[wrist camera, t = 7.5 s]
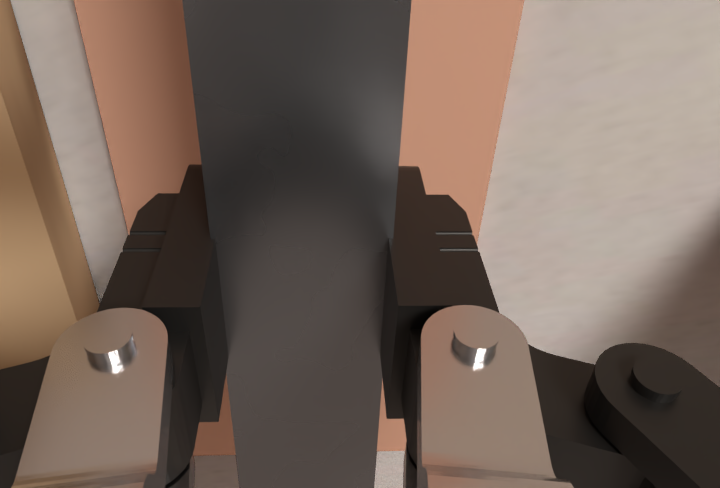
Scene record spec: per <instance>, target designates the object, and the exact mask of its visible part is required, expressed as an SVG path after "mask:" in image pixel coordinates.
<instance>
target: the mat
mask: <svg viewBox="0 0 720 488" xmlns="http://www.w3.org/2000/svg"><path fill="white" fill-rule="evenodd" d="M74 4H75V8H76V12H77V16H78V21H79V25H80V29H81V33H82V38H83V42H84V46H85V51H86V55H87V59H88V63H89V68H90V72H91V76H92V80H93V85H94V89H95V93H96V97H97V102H98V106H99V110H100V115H101V119H102V123H103V127H104V132H105V136H106V140H107V144H108V149H109V153H110V157H111V162H112V166H113V170H114V174H115V179H116V183H117V187H118V191H119V196H120V200H121V204H122V209H123V213H124V217H125V221H126V226H127V230H128V234H129V235H130V229H131V227H132V224H133V222H134V219H135V217H136V214H137V212H138V210H139V209H141V208H142V207H143V206H144V205H145V204H146V203H147V202H148V201H150V200H151V199H152V198H153V197H154V196H155V195H156V194H158V193H179V192H180V189H181V186H182V183H183V180H184V177H185V174H186V171H187V168H188V166H189V165H190V164H201V156H200V147H199V139H198V130H197V122H196V113H195V105H194V96H193V88H192V79H191V71H190V62H189V54H188V45H187V37H186V28H185V20H184V11H183V3H182V0H74ZM523 4H524V0H412V1H411V14H410V27H409V40H408V53H407V66H406V79H405V92H404V105H403V118H402V131H401V144H400V157H399V166H418V167H419V169H420V172H421V176H422V180H423V184H424V188H425V192H426V195H449V196H450V197H451V198H452V199H453V200H454V201H456V202H457V203H458V204H459V205H460V206H461V207H462V208H463V209H464V210H465V211H466V213H467V216H468V219H469V222H470V225H471V228H472V235H474V238H475V241H476V244H477V241H478V236H479V230H480V225H481V220H482V215H483V210H484V205H485V200H486V194H487V189H488V184H489V179H490V174H491V169H492V164H493V158H494V153H495V148H496V143H497V138H498V133H499V128H500V122H501V117H502V112H503V107H504V102H505V97H506V92H507V86H508V81H509V76H510V71H511V66H512V61H513V56H514V50H515V45H516V40H517V35H518V30H519V25H520V20H521V14H522V9H523ZM406 441H407V440H406V432H405V424H404V419H387V417H386V407H385V398H384V388H383V378H382V390H381V403H380V416H379V429H378V442H377V451H405V448H406ZM202 455H236V453H235V444H234V436H233V427H232V419H231V410H230V402H229V393H228V385H227V376H226V377H225V384H224V390H223V397H222V404H221V410H220V417H219V422H199V425H198V431H197V436H196V442H195V447H194V451H193V456H202Z"/></svg>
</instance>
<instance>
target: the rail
mask: <svg viewBox="0 0 720 488" xmlns="http://www.w3.org/2000/svg"><path fill="white" fill-rule="evenodd" d="M411 1H412V0H182V3H183V11H184V20H185V28H186V37H187V45H188V54H189V62H190V71H191V79H192V88H193V96H194V105H195V113H196V122H197V130H198V139H199V147H200V156H201V164H202V173H203V181H204V190H205V198H206V207H207V215H208V223H209V232H210V239H215V241H216V250H217V259H218V268H219V277H220V286H221V294H222V303H223V312H224V321H225V330H226V339H227V348H228V357H229V358H228V364H227V371H226V376H227V385H228V393H229V402H230V410H231V419H232V427H233V436H234V444H235V453H236V461H237V470H238V478H239V487H240V488H374V481H375V468H376V455H377V442H378V429H379V416H380V403H381V390H382V369H381V359H380V349H381V335H382V322H383V308H384V294H385V280H386V266H387V252H388V238H393V234H394V221H395V208H396V195H397V183H398V170H399V157H400V144H401V131H402V118H403V105H404V92H405V79H406V66H407V53H408V40H409V27H410V14H411Z"/></svg>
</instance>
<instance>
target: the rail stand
mask: <svg viewBox="0 0 720 488" xmlns="http://www.w3.org/2000/svg"><path fill="white" fill-rule="evenodd" d="M99 305H100V304H99V301H98V297H97V294H96V290H95V287H94V284H93V280H92V277H91V273H90V270H89V267H88V263H87V260H86V256H85V253H84V250H83V246H82V243H81V240H80V236H79V233H78V229H77V226H76V223H75V219H74V216H73V212H72V209H71V206H70V202H69V199H68V195H67V192H66V189H65V185H64V182H63V178H62V175H61V172H60V168H59V165H58V161H57V158H56V155H55V151H54V148H53V145H52V141H51V138H50V134H49V131H48V128H47V124H46V121H45V117H44V114H43V111H42V107H41V104H40V100H39V97H38V94H37V90H36V87H35V83H34V80H33V77H32V73H31V70H30V67H29V63H28V60H27V56H26V53H25V50H24V46H23V43H22V39H21V36H20V33H19V29H18V26H17V22H16V19H15V16H14V12H13V9H12V5H11V2H10V0H0V369H4V368H8V367H12V366H16V365H20V364H24V363H29V362H32V361H35V360H39V359H42V358H44V357H47V356H49V355H50V354H51V351H52V348H53V346H54V344H55V342H56V341H57V339H58V338H59V337H60V335H61V334H62V333H63V332H64V331H65V330H66V329H68V328H69V327H70V326H71V325H73V324H74V323H76V322H77V321H79V320H80V319H82V318H84V317H86V316H88V315H91V314H94V313H96V312H97V310H98V308H99Z"/></svg>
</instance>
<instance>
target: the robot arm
mask: <svg viewBox="0 0 720 488" xmlns="http://www.w3.org/2000/svg"><path fill="white" fill-rule="evenodd" d="M228 358H229V357H228V348H227V339H226V330H225V321H224V312H223V303H222V294H221V286H220V277H219V268H218V259H217V250H216V241H215V239H210V232H209V223H208V215H207V207H206V198H205V190H204V181H203V173H202V164H190V165H189V166H188V168H187V171H186V174H185V177H184V180H183V183H182V186H181V189H180V192H179V193H158V194H156V195H155V196H154V197H153V198H152V199H151V200H150V201H148V202H147V203H146V204H145V205H144V206H143V207H142V208H141V209H139V210H138V212H137V214H136V217H135V219H134V222H133V224H132V227H131V229H130V235H128V236H127V239H126V241H125V244H124V246H123V252H121V254H120V256H119V259H118V261H117V264H116V266H115V268H114V271H113V273H112V276H111V278H110V281H109V283H108V286H107V288H106V291H105V293H104V295H103V298H102V300H101V303H100V305H99V308H98V310H97V312H96V313H94V314H91V315H88V316H86V317H84V318H82V319H80V320H79V321H77V322H76V323H74V324H73V325H71V326H70V327H69V328H68V329H66V330H65V331H64V332H63V333H62V334H61V335H60V337H59V338H58V339H57V341H56V342H55V344H54V346H53V348H52V351H51V354H50V355H49V356H47V357H44V358H42V359H39V360H35V361H32V362H29V363H24V364H20V365H16V366H12V367H8V368H4V369H0V488H194V476H195V462H194V456H193V451H194V447H195V442H196V436H197V431H198V425H199V422H219V417H220V410H221V404H222V397H223V390H224V384H225V377H226V371H227V364H228ZM380 359H381V369H382V378H383V388H384V398H385V407H386V417H387V419H404V424H405V432H406V440H407V441H406V448H405V455H404V472H403V488H720V388H719V387H718V386H717V385H716V384H714V383H713V382H712V381H711V380H709V379H708V378H707V377H705V376H704V375H703V374H702V373H700V372H699V371H698V370H697V369H695V368H694V367H693V366H692V365H690V364H689V363H687V362H686V361H685V360H683V359H682V358H680V357H678V356H676V355H675V354H673V353H671V352H668V351H666V350H664V349H661V348H658V347H655V346H651V345H646V344H638V343H625V344H620V345H616V346H613V347H610V348H609V349H607V350H605V351H604V352H603V353H602V354H601V355H600V356H599V358H598V360H597V362H596V364H595V365H593V364H589V363H585V362H581V361H577V360H573V359H568V358H564V357H560V356H556V355H553V354H549V353H546V352H543V351H541V350H538V349H536V348H534V347H532V346H530V345H529V344H528V343H527V340H526V338H525V336H524V334H523V332H522V331H521V330H520V329H519V327H518V326H517V325H516V324H515V323H514V322H512V321H511V320H510V319H508V318H507V317H506V316H504V315H502V314H500V313H499V310H498V307H497V304H496V301H495V298H494V295H493V292H492V289H491V286H490V283H489V280H488V277H487V274H486V271H485V268H484V265H483V262H482V259H481V256H480V253H479V252H478V247H477V244H476V241H475V238H474V235H472V228H471V225H470V222H469V219H468V216H467V213H466V211H465V210H464V209H463V208H462V207H461V206H460V205H459V204H458V203H457V202H456V201H454V200H453V199H452V198H451V197H450V196H449V195H426V192H425V188H424V184H423V180H422V176H421V172H420V169H419V167H418V166H399V170H398V183H397V195H396V208H395V221H394V234H393V238H388V252H387V266H386V280H385V294H384V308H383V322H382V335H381V349H380Z"/></svg>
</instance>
